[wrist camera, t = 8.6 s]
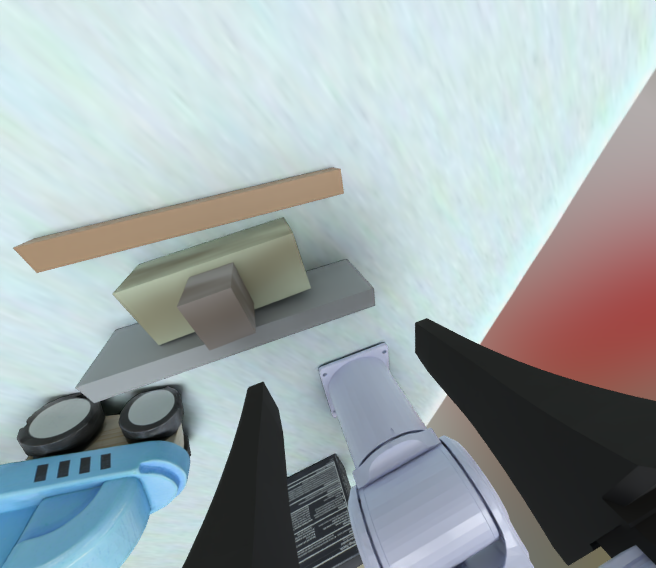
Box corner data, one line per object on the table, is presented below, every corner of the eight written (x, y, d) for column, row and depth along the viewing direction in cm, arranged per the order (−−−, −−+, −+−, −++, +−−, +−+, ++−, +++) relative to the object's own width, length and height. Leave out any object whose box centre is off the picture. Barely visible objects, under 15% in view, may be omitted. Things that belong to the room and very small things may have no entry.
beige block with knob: (299, 264, 19) (323, 314, 14) (174, 308, 18) (141, 385, 12) (283, 216, 17) (303, 251, 11) (139, 263, 16) (79, 330, 10)
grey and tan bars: (349, 274, 21) (375, 305, 17) (128, 344, 18) (94, 403, 14) (333, 167, 16) (363, 174, 12) (34, 238, 14) (-59, 279, 9)
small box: (285, 499, 38) (297, 604, 29) (268, 486, 34) (276, 601, 26) (346, 468, 39) (375, 560, 30) (335, 452, 36) (365, 551, 27)
